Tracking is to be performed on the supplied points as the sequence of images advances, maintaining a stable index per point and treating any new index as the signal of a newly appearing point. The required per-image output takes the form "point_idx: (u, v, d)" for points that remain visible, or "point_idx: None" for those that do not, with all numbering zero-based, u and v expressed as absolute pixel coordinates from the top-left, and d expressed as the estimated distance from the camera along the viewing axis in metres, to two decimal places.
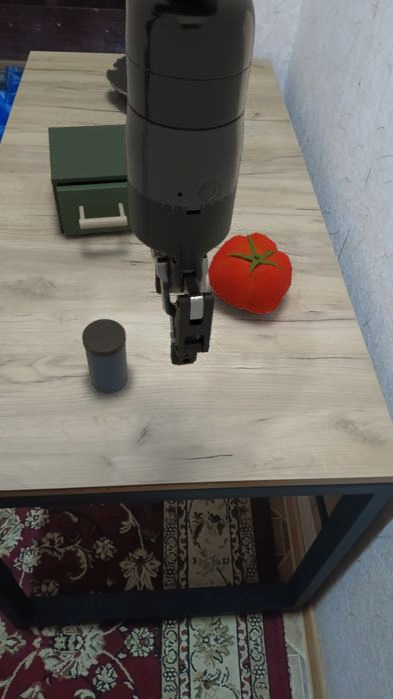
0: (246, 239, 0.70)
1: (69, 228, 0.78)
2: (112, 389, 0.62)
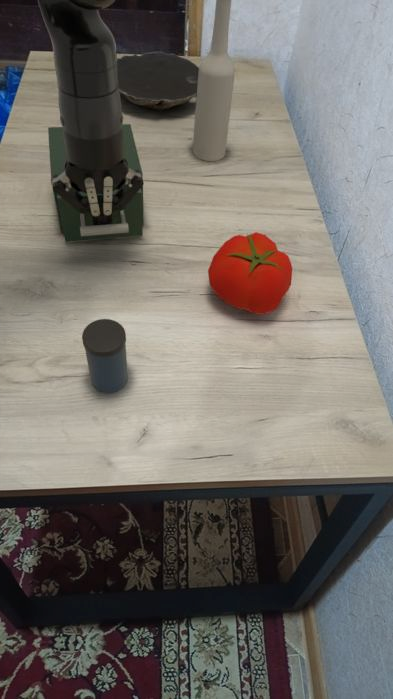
0: (246, 239, 0.70)
1: (70, 235, 0.77)
2: (112, 389, 0.62)
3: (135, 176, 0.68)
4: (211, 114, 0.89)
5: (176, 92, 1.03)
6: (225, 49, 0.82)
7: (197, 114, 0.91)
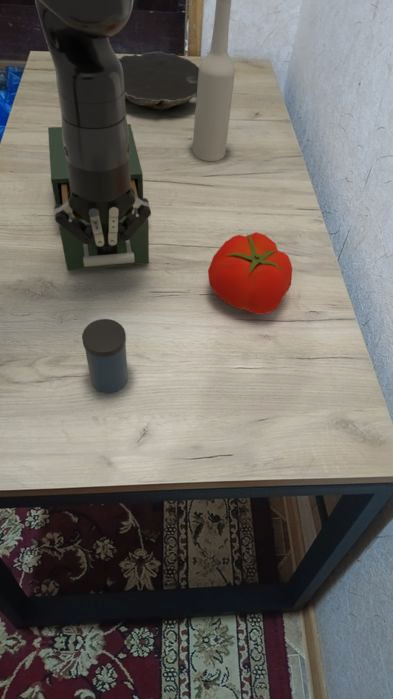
0: (246, 239, 0.70)
1: (72, 263, 0.73)
2: (112, 389, 0.62)
3: (142, 206, 0.65)
4: (211, 114, 0.89)
5: (176, 92, 1.03)
6: (225, 49, 0.82)
7: (197, 114, 0.91)
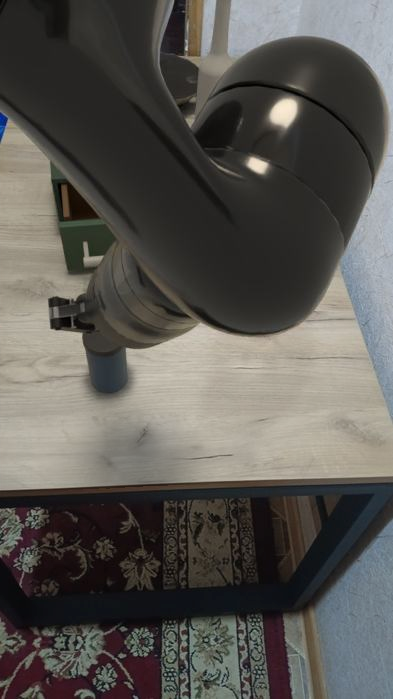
0: None
1: (72, 264, 0.73)
2: (112, 389, 0.62)
3: None
4: None
5: (176, 92, 1.03)
6: (225, 49, 0.82)
7: (197, 114, 0.91)
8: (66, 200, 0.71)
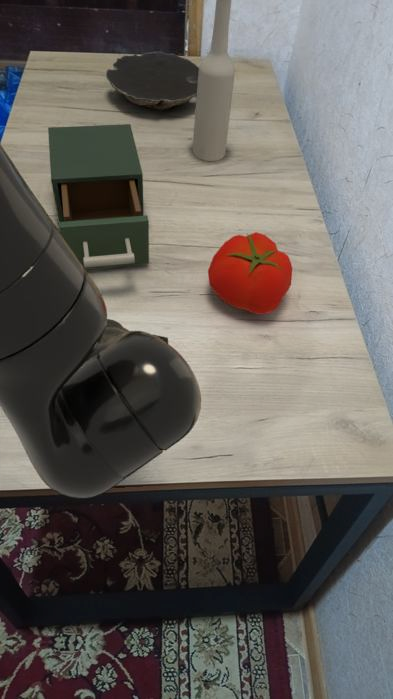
0: (246, 239, 0.70)
1: None
2: None
3: None
4: (211, 114, 0.89)
5: (176, 92, 1.03)
6: (225, 49, 0.82)
7: (197, 114, 0.91)
8: (66, 200, 0.71)
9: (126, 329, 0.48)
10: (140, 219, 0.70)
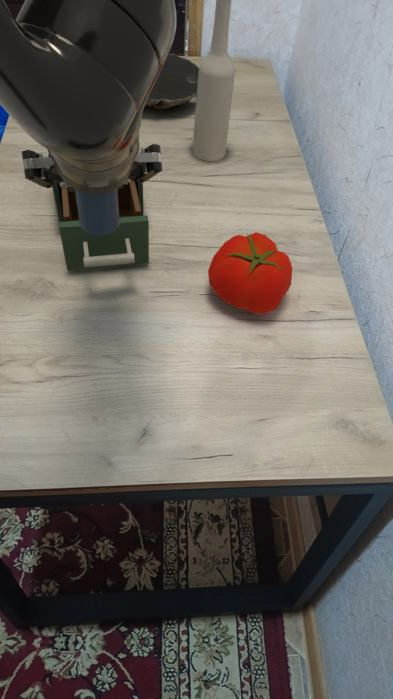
0: (246, 239, 0.70)
1: (72, 264, 0.73)
2: (102, 230, 0.59)
3: (149, 162, 0.49)
4: (211, 114, 0.89)
5: (176, 92, 1.03)
6: (225, 49, 0.82)
7: (197, 114, 0.91)
8: (66, 200, 0.71)
9: None
10: (140, 219, 0.70)
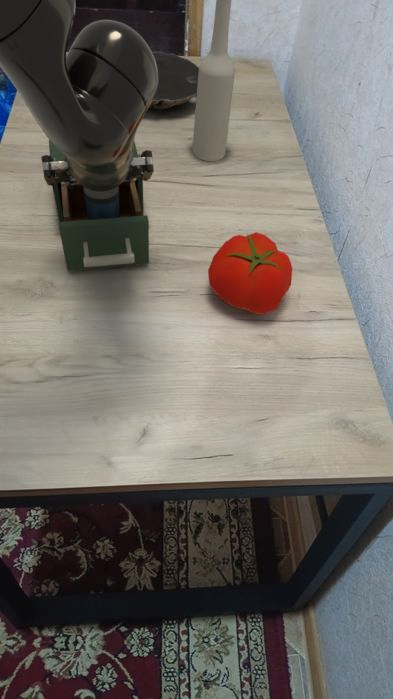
0: (246, 239, 0.70)
1: (72, 264, 0.73)
2: None
3: (143, 165, 0.62)
4: (211, 114, 0.89)
5: (176, 92, 1.03)
6: (225, 49, 0.82)
7: (197, 114, 0.91)
8: (66, 200, 0.71)
9: None
10: (140, 219, 0.70)
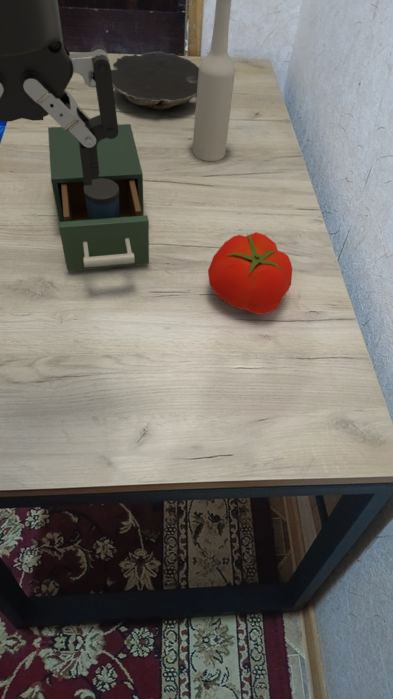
0: (246, 239, 0.70)
1: (72, 264, 0.73)
2: None
3: (90, 60, 0.35)
4: (211, 114, 0.89)
5: (176, 92, 1.03)
6: (225, 49, 0.82)
7: (197, 114, 0.91)
8: (66, 200, 0.71)
9: None
10: (140, 219, 0.70)
